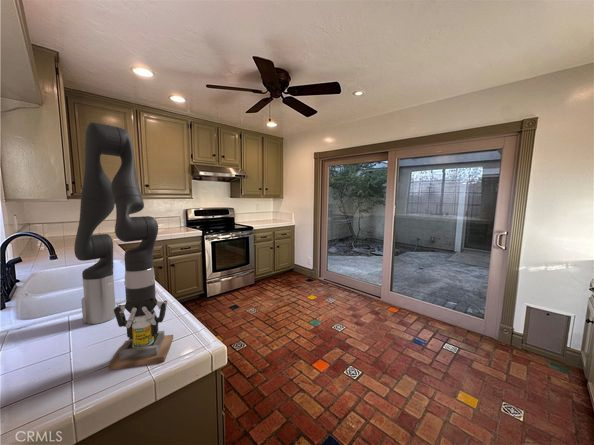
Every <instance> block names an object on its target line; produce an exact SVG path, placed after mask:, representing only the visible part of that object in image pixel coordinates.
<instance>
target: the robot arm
mask: <svg viewBox="0 0 594 445" xmlns="http://www.w3.org/2000/svg"><path fill="white" fill-rule="evenodd" d="M84 136H85V141H84V143H85V144H84V170H83V171H84V174H83V182H82V188H81V194H80V208H79V209H80V211H79V221H78V227H77V229H76V236H75V239H74V240H75V241H74V250H73V251H74V256H75V257H76V259H77V260H79V261H84V262H85V261H92V260H98V261H97V262H96V263H94V264H93V265H91V266H89V267H87V268H85V269H83V271H82V276H81V278H82V286H83V288H82V289H83V297H82V298H81V312H82V314H81V315H82V322H83V323H82V324H87V325H96V324H102V323H106V322H108V321H111V320H112V319H114V318H116V322H117V325H118V327H120V328H122V327H123V328H124V327H125V328H126V337H127V338H128V339H133V333H132V324H133V322H134V321H135V320H134V316H143V315H146V316H147V318H148V320H150V322H151V323H152V325H151V329H152V336H155V335H156V334H157V332H158V331H159V323H162V322H163V321H164V318H165V317H166V311H167V304H168V301H167V300H163V301H160V300H159V301H158V299H157V297H156V280H155V278H156V277H155V269H154V258H153V257H154V256H153V255H154V249H155V245H156V241H157V237H158V234H159V233H158V232H159V224H158V221H157V220H156V219H155V218H154V217H153V216H149V215H146V216H145V215H143V216H130V215H133V214H136V213H140V212H141V211H143V210H144V208H145V202H144V199H143V197H142V196H143V195H142V193H141V192H142V191H141V189H140V186H139V183H138V178H137V171H136V170H137V168H136V162H135V154H134V148H133V141H132V138H131V135H130V132H129V131H128V130H127V129H125V128H122V127H119V126H115V125H114V126H113V125H110V124H105V123H100V122H89V123H88V125H87V127H86V129H85V134H84ZM102 155H105V156H112V157H119V158H120V161H121V163H120V167H119V168H118V170H117V172H116V174H115V175H114V177H113V179H112V181H111V179H110V178H109V177H108V175H107V174H106V172H105V170H104V168H103V166H102V164H101V156H102ZM114 209H115V212H116V213H115V214H116V216H115V224H114V225H115V226H114V234H115V237H116V238H117V239H118V240H119V241H120V242H124V243H129V242H137V241H140V244H139V245H137V246H136V247H133V248H132V247H131V248H130V249H128V250H126V251H125V252H124V270H125V272H124V290H125V304H117V306H116V294H115V293H116V292H115V280H114V278H115V277H114V242H113V238H112V236H111V235H110V234H108V233H101V234H99V233H98V234H94V233H95V230H96V229H97V227H98V226H99V225H100V224H102V223H103V221H105V220H106V219H107V218H108V217H109V216H110V214H112V212H113V211H114ZM156 307H157V308H158V309H159V315H158V316H157V313H156V310H155V308H156ZM125 311H127V312H128V313H129V316H128V319H127V317H126V316H125Z"/></svg>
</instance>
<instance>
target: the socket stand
mask: <svg viewBox="0 0 594 445" xmlns="http://www.w3.org/2000/svg"><path fill="white" fill-rule="evenodd" d="M173 341H174V334H168V335H167V334H166V335H165V330H158V332H157V334H156V335H155V336H154V341H153V343H152V344H151V345H149V346H146V347H139V348H135V347H134V346H133V339H129V338H128V339H125V341H124V342H123V344H122V345H121V346H120V347H119V349H118V351H117V352H116V353H115V355H114V356H113V358H112V359H111V361H110V362H109V363H108V365H107V367H108V371H112V370H118V369H126V368H132V367H139V366H144V365H151V364H159V363H164V362H165V361H166V359H167V356H168V354H169V351H170V349H171V346H172V344H173Z"/></svg>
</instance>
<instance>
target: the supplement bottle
mask: <svg viewBox="0 0 594 445" xmlns="http://www.w3.org/2000/svg"><path fill="white" fill-rule="evenodd" d="M151 325H152V323H151V322H150V320H148V318H147V316H146V315H143V316H134V322H133V324H132V333H133V346H134V347H135V348H139V347H146V346H149V345H151V344H152V343H153V341H154V336H152V329H151Z"/></svg>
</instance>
